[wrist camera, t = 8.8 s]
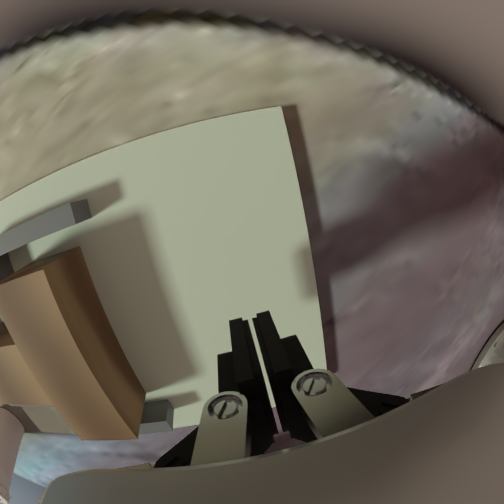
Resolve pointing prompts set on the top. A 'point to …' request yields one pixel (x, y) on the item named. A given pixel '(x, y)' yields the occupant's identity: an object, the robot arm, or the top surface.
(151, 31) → the top surface
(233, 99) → the top surface
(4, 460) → the smoothie
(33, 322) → the t block
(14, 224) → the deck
